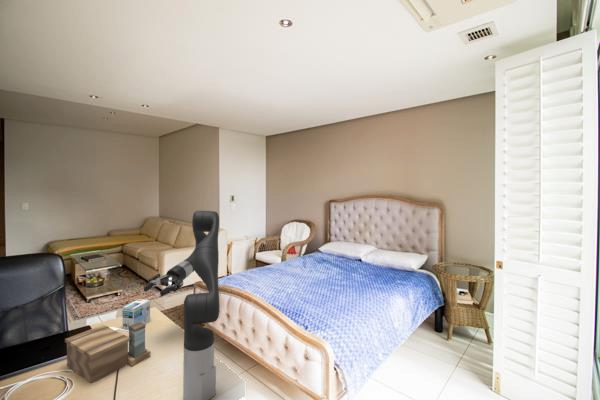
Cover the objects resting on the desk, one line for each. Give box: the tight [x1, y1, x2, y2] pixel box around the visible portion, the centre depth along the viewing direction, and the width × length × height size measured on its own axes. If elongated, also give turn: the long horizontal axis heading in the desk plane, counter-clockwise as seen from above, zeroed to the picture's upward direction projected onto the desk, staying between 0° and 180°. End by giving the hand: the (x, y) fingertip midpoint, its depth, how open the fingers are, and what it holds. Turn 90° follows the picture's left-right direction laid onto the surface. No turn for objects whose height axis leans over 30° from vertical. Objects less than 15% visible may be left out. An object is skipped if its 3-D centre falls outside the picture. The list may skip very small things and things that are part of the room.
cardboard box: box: [64, 324, 152, 384], centre depth 106 cm, size 21×20×10 cm
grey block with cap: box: [128, 322, 146, 358], centre depth 108 cm, size 4×4×13 cm
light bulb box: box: [121, 298, 151, 330], centre depth 134 cm, size 11×7×11 cm, turn 168°
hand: (152, 292), depth 114 cm, fingers open, 8 cm apart
